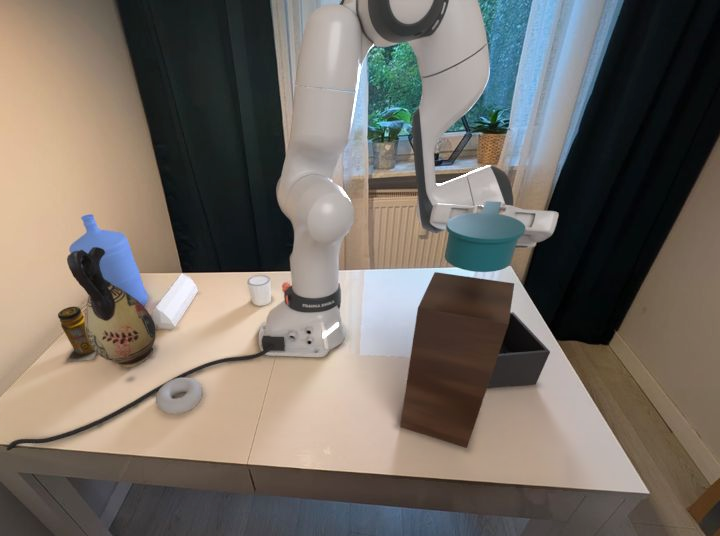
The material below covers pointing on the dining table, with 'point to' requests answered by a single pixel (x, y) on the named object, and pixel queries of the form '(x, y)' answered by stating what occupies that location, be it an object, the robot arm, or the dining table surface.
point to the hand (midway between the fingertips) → (490, 211)
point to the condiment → (76, 334)
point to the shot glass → (260, 289)
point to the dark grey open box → (518, 357)
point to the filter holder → (482, 239)
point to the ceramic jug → (112, 314)
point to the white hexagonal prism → (174, 303)
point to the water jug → (113, 258)
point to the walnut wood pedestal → (454, 354)
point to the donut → (182, 403)
